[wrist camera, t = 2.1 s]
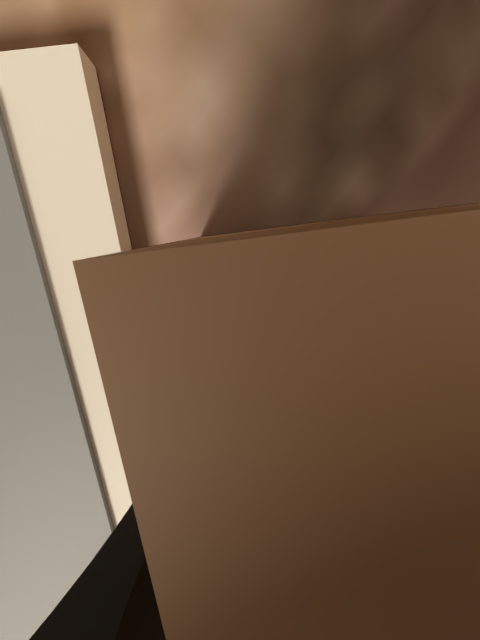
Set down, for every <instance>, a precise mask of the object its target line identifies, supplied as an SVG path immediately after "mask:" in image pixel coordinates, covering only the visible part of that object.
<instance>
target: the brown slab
mask: <svg viewBox="0 0 480 640" xmlns="http://www.w3.org/2000/svg"><path fill="white" fill-rule="evenodd" d="M72 262H73V266H74V270H75V274H76V278H77V282H78V286H79V290H80V294H81V298H82V302H83V306H84V310H85V314H86V318H87V322H88V326H89V330H90V334H91V338H92V343H93V347H94V351H95V355H96V359H97V363H98V367H99V371H100V375H101V379H102V383H103V387H104V391H105V395H106V399H107V403H108V407H109V411H110V415H111V419H112V423H113V427H114V432H115V436H116V440H117V444H118V448H119V452H120V456H121V460H122V464H123V468H124V472H125V476H126V480H127V484H128V488H129V492H130V496H131V500H132V504H133V508H134V512H135V516H136V520H137V525H138V529H139V533H140V537H141V541H142V545H143V549H144V553H145V557H146V561H147V565H148V569H149V573H150V577H151V581H152V585H153V589H154V593H155V597H156V601H157V605H158V609H159V613H160V618H161V622H162V626H163V630H164V634H165V638H166V640H480V203H472V204H464V205H455V206H447V207H439V208H430V209H422V210H413V211H405V212H396V213H388V214H379V215H371V216H363V217H355V218H347V219H339V220H331V221H323V222H315V223H307V224H299V225H291V226H283V227H275V228H268V229H260V230H252V231H244V232H236V233H228V234H220V235H212V236H204V237H198V238H192V239H187V240H182V241H176V242H171V243H166V244H160V245H155V246H150V247H144V248H139V249H134V250H128V251H123V252H118V253H112V254H107V255H102V256H96V257H91V258H86V259H80V260H75V261H72Z"/></svg>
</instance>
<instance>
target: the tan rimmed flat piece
mask: <svg viewBox="0 0 480 640" xmlns="http://www.w3.org/2000/svg"><path fill="white" fill-rule="evenodd" d="M128 250H132V248H131V243H130V238H129V233H128V228H127V223H126V218H125V213H124V208H123V203H122V198H121V193H120V188H119V183H118V178H117V173H116V168H115V163H114V158H113V153H112V148H111V143H110V138H109V133H108V128H107V123H106V118H105V113H104V108H103V103H102V98H101V93H100V88H99V83H98V78H97V73H96V68H95V66H94V65H93V63H92V62H91V61H90V59H89V58H88V57H87V55H86V54H85V53H84V51H83V50H82V49H81V47H80V46H79V45H78V43H74V44H65V45H56V46H47V47H38V48H29V49H20V50H10V51H1V52H0V640H29V639H30V638H31V636H32V635H33V634H34V633H35V632H36V630H37V629H38V628H39V627H40V626H41V624H42V623H43V622H44V621H45V620H46V618H47V617H48V616H49V615H50V613H51V612H52V611H53V610H54V608H55V607H56V606H57V604H58V603H59V602H60V601H61V599H62V598H63V597H64V596H65V594H66V593H67V592H68V590H69V589H70V588H71V587H72V585H73V584H74V583H75V582H76V580H77V579H78V578H79V576H80V575H81V574H82V573H83V571H84V570H85V569H86V567H87V566H88V565H89V563H90V562H91V561H92V559H93V558H94V557H95V555H96V554H97V553H98V551H99V550H100V548H101V547H102V546H103V544H104V543H105V541H106V540H107V539H108V537H109V536H110V535H111V533H112V532H113V530H114V529H115V528H116V526H117V525H118V523H119V522H120V520H121V519H122V518H123V516H124V515H125V513H126V512H127V510H128V509H129V507H130V506H131V505H132V500H131V496H130V492H129V488H128V484H127V480H126V476H125V472H124V468H123V464H122V460H121V456H120V452H119V448H118V444H117V440H116V436H115V432H114V427H113V423H112V419H111V415H110V411H109V407H108V403H107V399H106V395H105V391H104V387H103V383H102V379H101V375H100V371H99V367H98V363H97V359H96V355H95V351H94V347H93V343H92V338H91V334H90V330H89V326H88V322H87V318H86V314H85V310H84V306H83V302H82V298H81V294H80V290H79V286H78V282H77V278H76V274H75V270H74V266H73V262H72V261H75V260H80V259H86V258H91V257H96V256H102V255H107V254H112V253H118V252H123V251H128Z"/></svg>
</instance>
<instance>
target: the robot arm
mask: <svg viewBox="0 0 480 640" xmlns="http://www.w3.org/2000/svg"><path fill="white" fill-rule="evenodd" d="M29 640H166V638H165V634H164V630H163V626H162V622H161V618H160V613H159V609H158V605H157V601H156V597H155V593H154V589H153V585H152V581H151V577H150V573H149V569H148V565H147V561H146V557H145V553H144V549H143V545H142V541H141V537H140V533H139V529H138V525H137V520H136V516H135V512H134V508H133V504H132V505H131V506H130V507H129V509H128V510H127V512H126V513H125V515H124V516H123V518H122V519H121V520H120V522H119V523H118V525H117V526H116V528H115V529H114V530H113V532H112V533H111V535H110V536H109V537H108V539H107V540H106V541H105V543H104V544H103V546H102V547H101V548H100V550H99V551H98V553H97V554H96V555H95V557H94V558H93V559H92V561H91V562H90V563H89V565H88V566H87V567H86V569H85V570H84V571H83V573H82V574H81V575H80V576H79V578H78V579H77V580H76V582H75V583H74V584H73V585H72V587H71V588H70V589H69V590H68V592H67V593H66V594H65V596H64V597H63V598H62V599H61V601H60V602H59V603H58V604H57V606H56V607H55V608H54V610H53V611H52V612H51V613H50V615H49V616H48V617H47V618H46V620H45V621H44V622H43V623H42V624H41V626H40V627H39V628H38V629H37V630H36V632H35V633H34V634H33V635H32V636H31V638H30V639H29Z"/></svg>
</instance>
